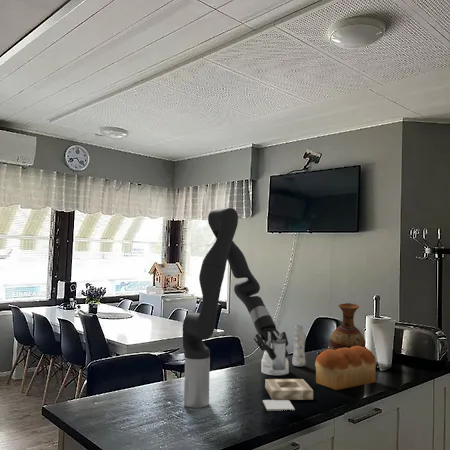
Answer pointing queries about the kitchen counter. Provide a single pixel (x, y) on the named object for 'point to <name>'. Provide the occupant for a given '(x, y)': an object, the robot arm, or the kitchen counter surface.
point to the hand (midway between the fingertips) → (280, 357)
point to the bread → (345, 367)
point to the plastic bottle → (299, 347)
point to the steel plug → (278, 357)
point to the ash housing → (288, 389)
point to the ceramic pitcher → (346, 330)
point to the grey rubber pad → (278, 405)
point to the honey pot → (270, 363)
